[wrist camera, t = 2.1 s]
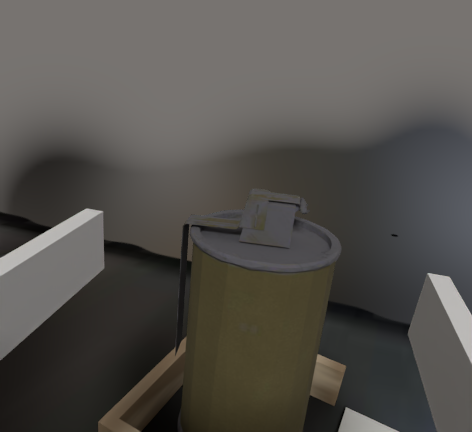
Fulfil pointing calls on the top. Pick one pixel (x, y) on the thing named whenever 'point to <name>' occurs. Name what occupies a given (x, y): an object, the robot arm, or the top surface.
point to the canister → (253, 315)
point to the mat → (361, 423)
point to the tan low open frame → (171, 379)
